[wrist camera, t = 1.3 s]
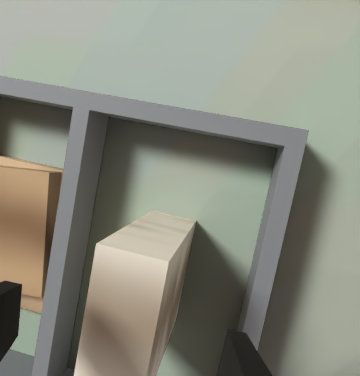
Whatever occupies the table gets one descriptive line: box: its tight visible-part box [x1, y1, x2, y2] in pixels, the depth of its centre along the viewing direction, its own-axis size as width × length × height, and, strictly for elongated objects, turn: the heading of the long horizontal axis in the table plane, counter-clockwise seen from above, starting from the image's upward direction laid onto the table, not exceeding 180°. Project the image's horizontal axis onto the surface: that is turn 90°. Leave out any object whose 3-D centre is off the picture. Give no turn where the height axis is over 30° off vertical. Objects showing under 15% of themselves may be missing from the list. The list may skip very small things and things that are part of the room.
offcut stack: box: [0, 155, 63, 314], centre depth 23 cm, size 10×7×3 cm
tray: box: [0, 76, 309, 376], centre depth 21 cm, size 20×22×3 cm
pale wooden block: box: [74, 211, 196, 376], centre depth 18 cm, size 7×3×9 cm, turn 169°
